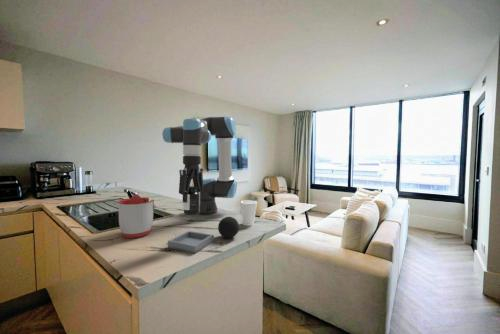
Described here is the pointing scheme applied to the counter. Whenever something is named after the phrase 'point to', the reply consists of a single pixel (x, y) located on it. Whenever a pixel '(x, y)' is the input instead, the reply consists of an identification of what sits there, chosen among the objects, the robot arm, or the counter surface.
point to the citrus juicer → (135, 216)
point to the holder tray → (191, 241)
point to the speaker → (228, 227)
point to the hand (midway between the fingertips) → (191, 207)
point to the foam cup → (248, 212)
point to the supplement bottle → (193, 201)
